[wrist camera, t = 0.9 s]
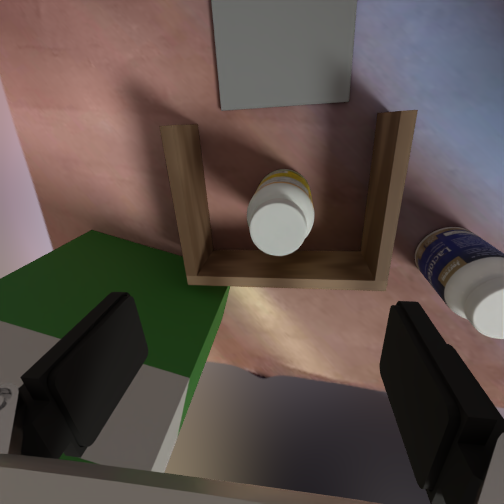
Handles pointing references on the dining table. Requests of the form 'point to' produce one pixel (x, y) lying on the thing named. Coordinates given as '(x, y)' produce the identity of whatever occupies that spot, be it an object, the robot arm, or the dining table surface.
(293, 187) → the supplement bottle
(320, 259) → the wooden u-shaped frame
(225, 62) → the grey mat
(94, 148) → the dining table surface
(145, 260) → the hardback book
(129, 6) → the dining table surface
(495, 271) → the pill bottle
